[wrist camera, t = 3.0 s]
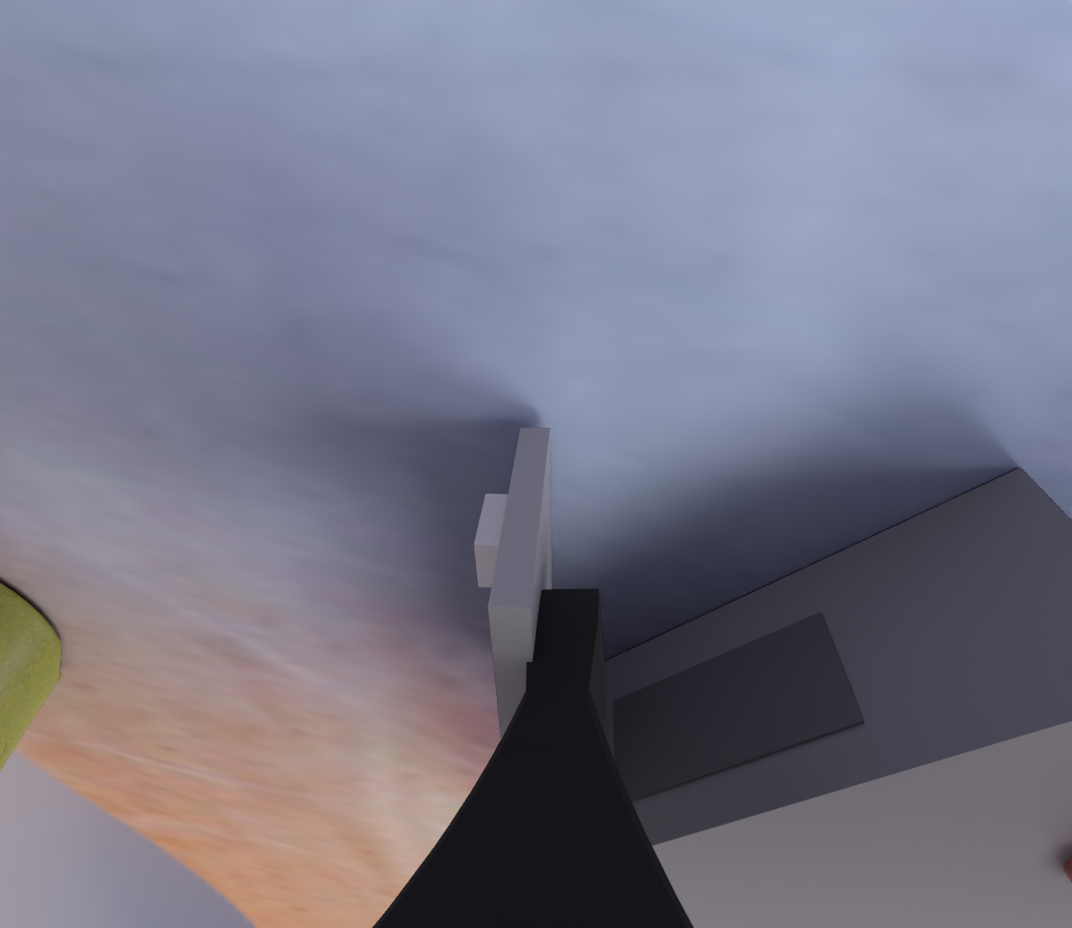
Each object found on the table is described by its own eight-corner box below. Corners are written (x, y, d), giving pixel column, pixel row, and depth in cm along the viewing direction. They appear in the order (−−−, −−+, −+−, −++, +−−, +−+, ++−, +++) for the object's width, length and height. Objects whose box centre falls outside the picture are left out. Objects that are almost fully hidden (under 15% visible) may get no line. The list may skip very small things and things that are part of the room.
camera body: (1019, 464, 13) (1258, 713, 8) (1127, 662, 16) (1346, 924, 11) (522, 697, 18) (499, 919, 14) (671, 809, 21) (693, 1022, 17)
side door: (495, 427, 13) (452, 604, 9) (554, 427, 13) (537, 608, 9) (514, 689, 18) (492, 877, 14) (557, 691, 18) (546, 881, 14)
